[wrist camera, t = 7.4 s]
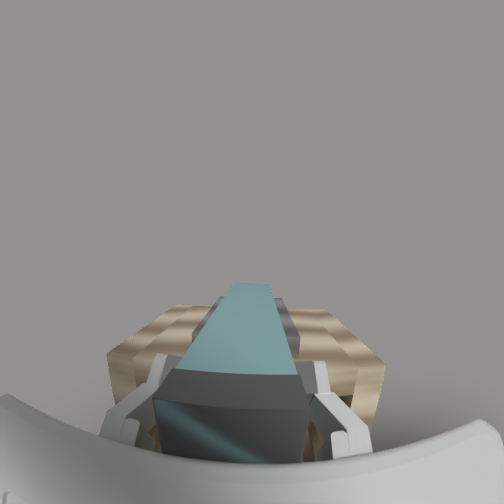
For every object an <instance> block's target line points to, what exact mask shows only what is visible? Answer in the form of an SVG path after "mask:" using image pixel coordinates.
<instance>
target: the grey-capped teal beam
mask: <svg viewBox="0 0 504 504" xmlns="http://www.w3.org/2000/svg"><path fill="white" fill-rule="evenodd" d="M152 401H153V408H154V414H155V420H156V426H157V431H158V437H159V442H160V447H161V451H162V453H164V454H170V455H175V456H181V457H187V458H194V459H202V460H210V461H220V462H233V463H257V464H278V463H301V460H302V455H303V450H304V445H305V439H306V434H307V428H308V422H309V415H310V409H311V406H310V403H309V400H308V397H307V394H306V391H305V388H304V385H303V382H302V379H301V376H300V374H298V373H297V370H296V367H295V364H294V361H293V357H292V354H291V351H290V348H289V345H288V342H287V339H286V335H285V332H284V329H283V326H282V323H281V320H280V317H279V314H278V311H277V307H276V304H275V301H274V298H273V295H272V292H271V289H270V286H269V284H250V283H233V285H232V286H231V288H230V289H229V291H228V292H227V293H226V295H225V296H224V298H223V299H222V301H221V302H220V304H219V305H218V306H217V308H216V309H215V311H214V312H213V314H212V315H211V317H210V318H209V320H208V321H207V322H206V324H205V325H204V327H203V328H202V330H201V331H200V333H199V334H198V336H197V337H196V338H195V340H194V341H193V343H192V344H191V346H190V347H189V349H188V350H187V351H186V353H185V354H184V356H183V357H182V359H181V360H180V362H179V363H178V365H177V366H176V367H175V368H172V369H171V371H170V372H169V374H168V375H167V376H166V378H165V379H164V381H163V382H162V383H161V385H160V386H159V388H158V389H157V390H156V392H155V393H154V395H153V396H152Z"/></svg>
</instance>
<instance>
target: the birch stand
mask: <svg viewBox="0 0 504 504" xmlns="http://www.w3.org/2000/svg"><path fill="white" fill-rule="evenodd" d="M223 298H224V297H219V299H218V300H217V301H216V302H215V304H214V305H213V306H212V307H204V306H188V305H187V306H186V305H175V306H174V307H173V308H171V309H170V310H168V311H167V312H165V313H164V314H163V315H161V316H160V317H158V318H157V319H155V320H154V321H153V322H151V323H150V324H148V325H147V326H145V327H144V328H142V329H141V330H140V331H138V332H137V333H136V334H134V335H133V336H131V337H130V338H128V339H127V340H125V341H124V342H122V343H121V344H120V345H118V346H117V347H115V348H114V349H112V350H111V351H110V352H108V353H107V360H108V366H109V373H110V379H111V385H112V390H113V395H114V400H115V405H116V404H117V403H119V402H120V401H121V400H122V399H124V398H125V397H126V396H127V395H129V394H130V393H131V392H132V391H134V390H135V389H136V388H137V387H139V386H140V385H141V384H142V383H146V382H147V379H148V376H149V373H150V370H151V367H152V364H153V361H154V358H155V356H156V354H157V353H160V354H168V355H175V356H184V354H185V353H186V351H187V350H188V349H189V347H190V346H191V344H192V343H193V341H194V340H195V338H196V337H197V336H198V334H199V333H200V331H201V330H202V328H203V327H204V325H205V324H206V322H207V321H208V320H209V318H210V317H211V315H212V314H213V312H214V311H215V309H216V308H217V306H218V305H219V304H220V302H221V301H222V299H223ZM274 301H275V304H276V307H277V311H278V314H279V317H280V320H281V323H282V326H283V329H284V332H285V335H286V339H287V342H288V345H289V348H290V351H291V354H292V357H293V361H294V362H296V361H325V363H326V368H327V373H328V379H329V384H330V390H331V393H335V394H336V395H337V396H338V397H339V398H340V399H341V400H342V401H343V402H344V403H345V404H346V405H347V406H348V407H349V408H350V409H351V410H352V411H353V412H354V413H355V414H356V415H357V416H358V417H359V418H360V419H361V420H362V421H363V422H364V423H365V424H366V425H367V426H368V430H369V432H370V429H371V426H372V422H373V419H374V415H375V411H376V407H377V403H378V400H379V396H380V391H381V387H382V383H383V378H384V373H385V368H386V364H385V363H384V362H383V361H382V360H381V359H380V358H378V357H377V356H376V355H375V354H374V353H373V352H372V351H371V350H370V349H369V348H368V347H366V346H365V345H364V344H363V343H362V342H361V341H360V340H359V339H358V338H356V337H355V336H354V335H353V334H352V333H351V332H350V331H349V330H348V329H346V328H345V327H344V326H343V325H342V324H341V323H340V322H339V321H338V320H337V319H336V318H334V317H333V316H332V315H331V314H330V313H329V312H328V311H327V310H325V309H322V310H321V309H320V310H296V309H291V310H290V309H287V308H286V307H285V304H284V302H283V300H282V299H281V298H274ZM148 433H149V435H150V436H151V437H152V438H153V439H154V440H155V442H156V445H155V450H154V451H155V452H160V453H162V451H161V447H160V442H159V437H158V431H157V426H156V424H155V425H154V426H153V427H152V428H151V429H150V430H149V431H148ZM325 442H326V440H325V438H324V437H323V436H322V435H321V433H320V432H319V431H318V429H317V428H316V427H315V425H314V424H313V423H312V421H311V420H310V419H309V422H308V428H307V434H306V439H305V445H304V450H303V455H302V460H301V462H314V461H318V455H317V452H318V450H319V449H320V448H321V447H322V445H323V444H324V443H325Z"/></svg>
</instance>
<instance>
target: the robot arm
mask: <svg viewBox="0 0 504 504" xmlns="http://www.w3.org/2000/svg"><path fill="white" fill-rule="evenodd" d="M182 357H183V356H175V355H168V354H160V353H157V354H156V356H155V358H154V361H153V364H152V367H151V370H150V373H149V376H148V379H147V382H146V383H142V384H141V385H140V386H139V387H137V388H136V389H135V390H134V391H132V392H131V393H130V394H129V395H127V396H126V397H125V398H124V399H122V400H121V401H120V402H119V403H117V404H116V405H115V406H114V407H112V408H111V409H110V410H108V411H107V414H106V416H105V419H104V422H103V425H102V428H101V431H100V434H99V436H98V435H95V434H92V433H89V432H87V431H84V430H81V429H79V428H76V427H74V426H71V425H69V424H66V423H64V422H62V421H59V420H57V419H55V418H53V417H51V416H49V415H47V414H45V413H43V412H41V411H38V410H37V409H34V408H33V407H31V406H29V405H27V404H25V403H23V402H22V401H20V400H18V399H16V398H15V397H13V396H11V395H8V394H6V395H3V396H1V397H0V504H504V447H503V443H502V439H501V437H500V435H499V433H498V431H497V430H496V429H495V428H493V427H492V426H490V425H489V424H488V423H487V422H485V421H483V420H482V419H475V420H473V421H471V422H468V423H466V424H463V425H461V426H459V427H456V428H454V429H451V430H449V431H446V432H444V433H441V434H438V435H436V436H433V437H429V438H426V439H424V440H420V441H417V442H414V443H411V444H407V445H404V446H400V447H396V448H392V449H389V450H384V451H379V452H375V453H373V450H372V445H371V440H370V435H369V430H368V426H367V425H366V424H365V423H364V422H363V421H362V420H361V419H360V418H359V417H358V416H357V415H356V414H355V413H354V412H353V411H352V410H351V409H350V408H349V407H348V406H347V405H346V404H345V403H344V402H343V401H342V400H341V399H340V398H339V397H338V396H337V395H336V394H335V393H331V390H330V384H329V379H328V373H327V368H326V363H325V361H296V362H294V364H295V367H296V370H297V373H298V374H300V376H301V379H302V382H303V385H304V388H305V391H306V394H307V397H308V400H309V403H310V406H311V409H310V415H309V419H310V420H311V421H312V423H313V424H314V425H315V427H316V428H317V429H318V431H319V432H320V433H321V435H322V436H323V437H324V438H325V440H326V442H325V443H324V444H323V445H322V447H321V448H320V449H319V450H318V452H317V455H318V461H314V462H301V463H278V464H257V463H233V462H220V461H210V460H202V459H194V458H187V457H181V456H175V455H170V454H164V453H160V452H155V451H154V450H155V445H156V442H155V440H154V439H153V438H152V437H151V436H150V435H149V433H148V431H149V430H150V429H151V428H152V427H153V426H154V425H155V424H156V420H155V414H154V408H153V401H152V396H153V395H154V393H155V392H156V390H157V389H158V388H159V386H160V385H161V383H162V382H163V381H164V379H165V378H166V376H167V375H168V374H169V372H170V371H171V369H172V368H175V367H176V366H177V365H178V363H179V362H180V360H181V359H182Z"/></svg>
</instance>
